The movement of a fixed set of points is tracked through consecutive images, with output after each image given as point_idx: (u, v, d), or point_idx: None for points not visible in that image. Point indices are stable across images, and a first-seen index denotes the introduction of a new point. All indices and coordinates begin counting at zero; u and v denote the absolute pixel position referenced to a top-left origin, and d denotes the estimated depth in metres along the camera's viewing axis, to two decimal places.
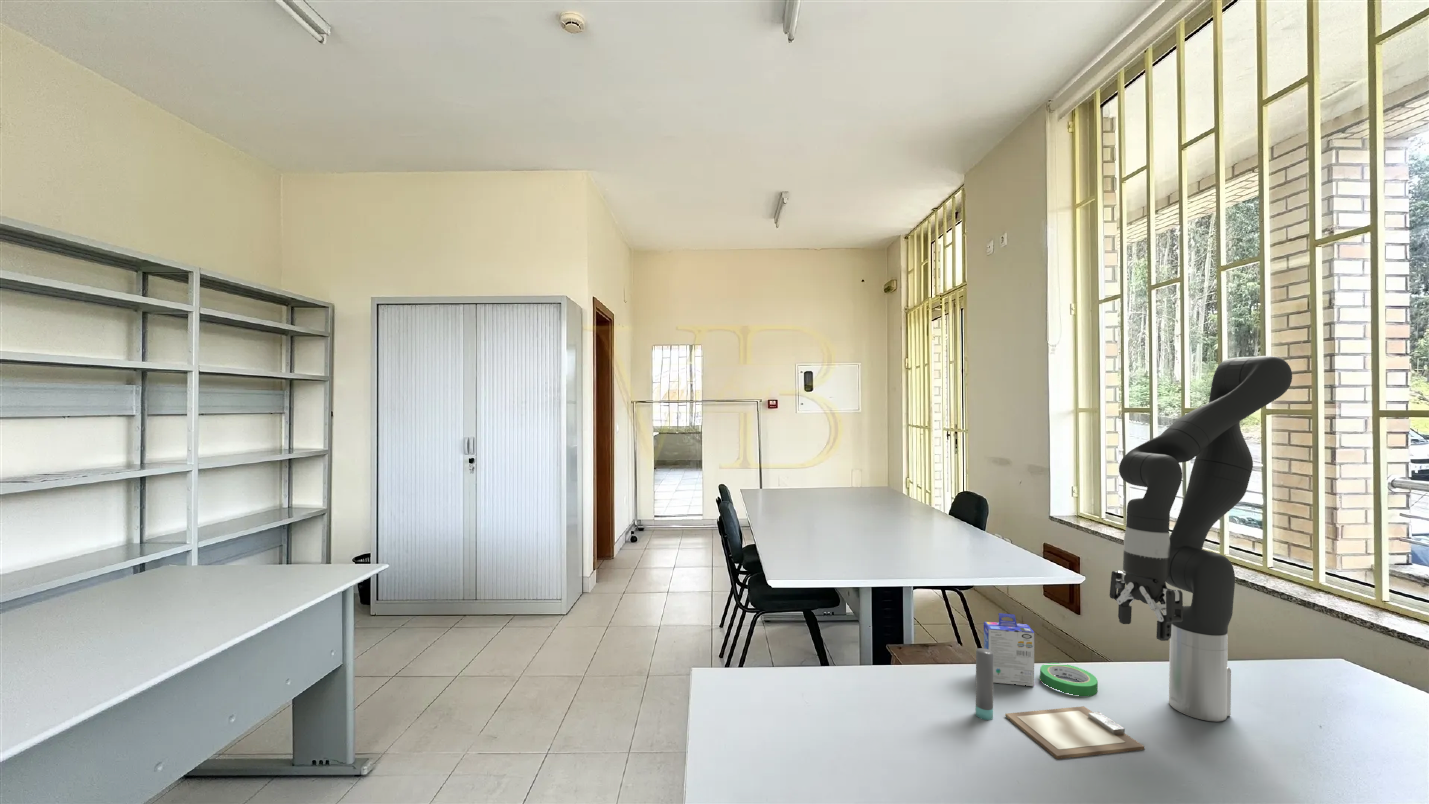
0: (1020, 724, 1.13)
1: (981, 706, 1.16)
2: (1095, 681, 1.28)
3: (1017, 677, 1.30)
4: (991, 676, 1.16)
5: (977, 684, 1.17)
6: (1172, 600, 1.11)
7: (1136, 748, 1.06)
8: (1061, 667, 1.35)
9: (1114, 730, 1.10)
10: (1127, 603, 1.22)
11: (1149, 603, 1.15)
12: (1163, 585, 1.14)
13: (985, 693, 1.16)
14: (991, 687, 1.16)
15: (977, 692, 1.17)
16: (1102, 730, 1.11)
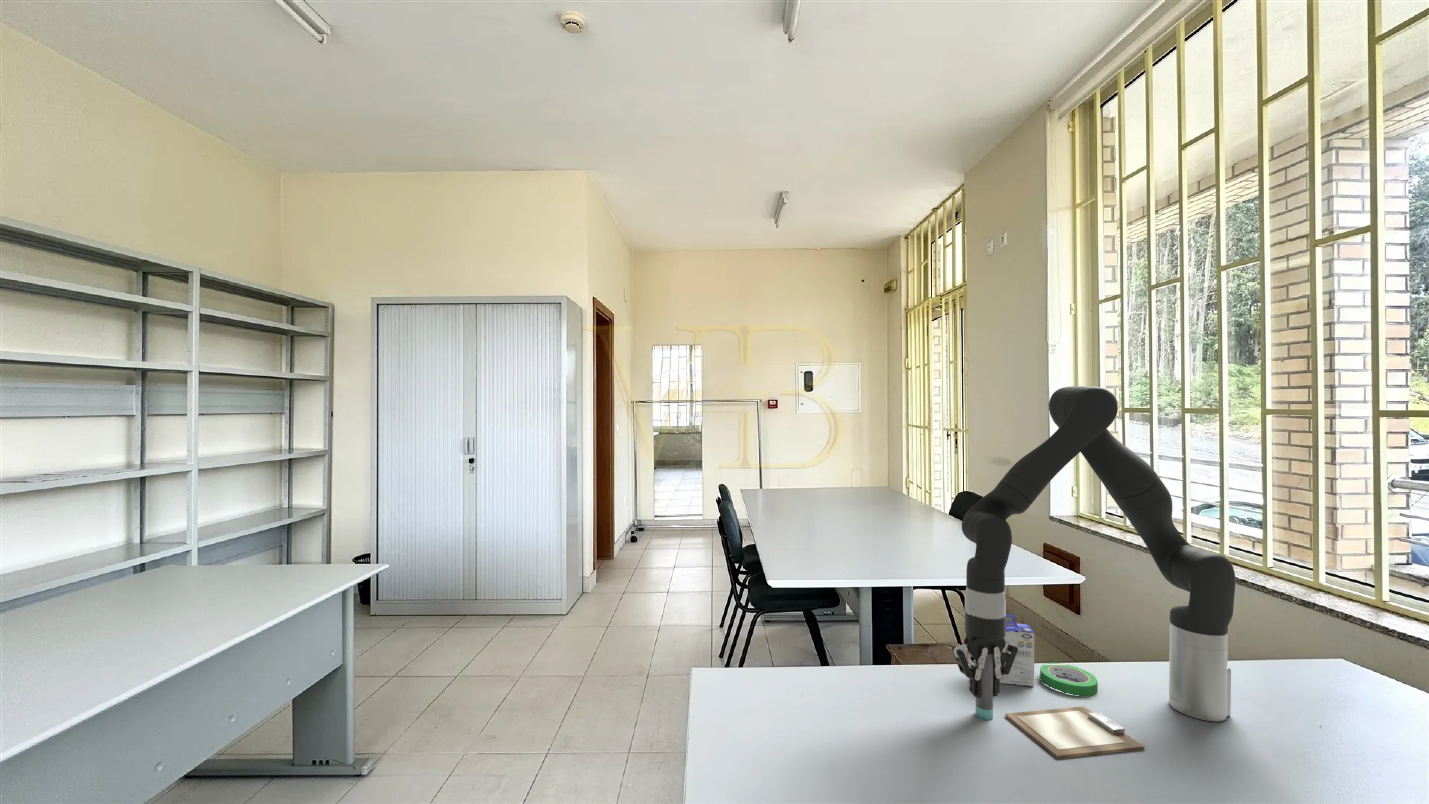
0: (1020, 724, 1.13)
1: (981, 706, 1.16)
2: (1095, 681, 1.28)
3: (1017, 677, 1.30)
4: (991, 676, 1.16)
5: None
6: None
7: (1136, 748, 1.06)
8: (1061, 667, 1.35)
9: (1114, 730, 1.10)
10: None
11: (996, 662, 1.16)
12: None
13: (985, 693, 1.16)
14: (991, 687, 1.16)
15: None
16: (1102, 730, 1.11)
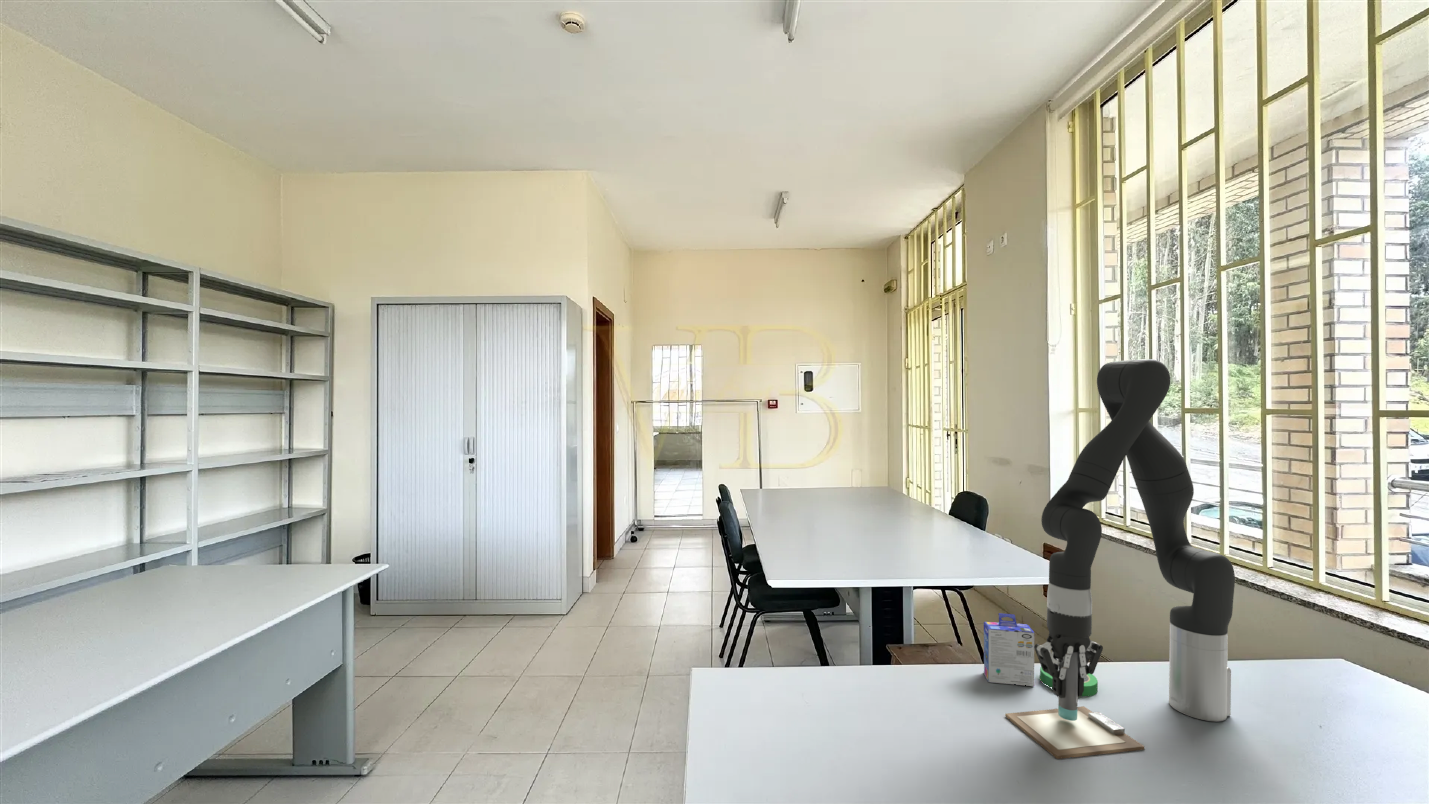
0: (1020, 724, 1.13)
1: (1065, 706, 1.13)
2: (1095, 681, 1.28)
3: (1017, 677, 1.30)
4: (1076, 675, 1.12)
5: None
6: None
7: (1136, 748, 1.06)
8: None
9: (1114, 730, 1.10)
10: None
11: (1081, 661, 1.12)
12: None
13: (1070, 692, 1.12)
14: (1076, 687, 1.12)
15: None
16: (1102, 730, 1.11)
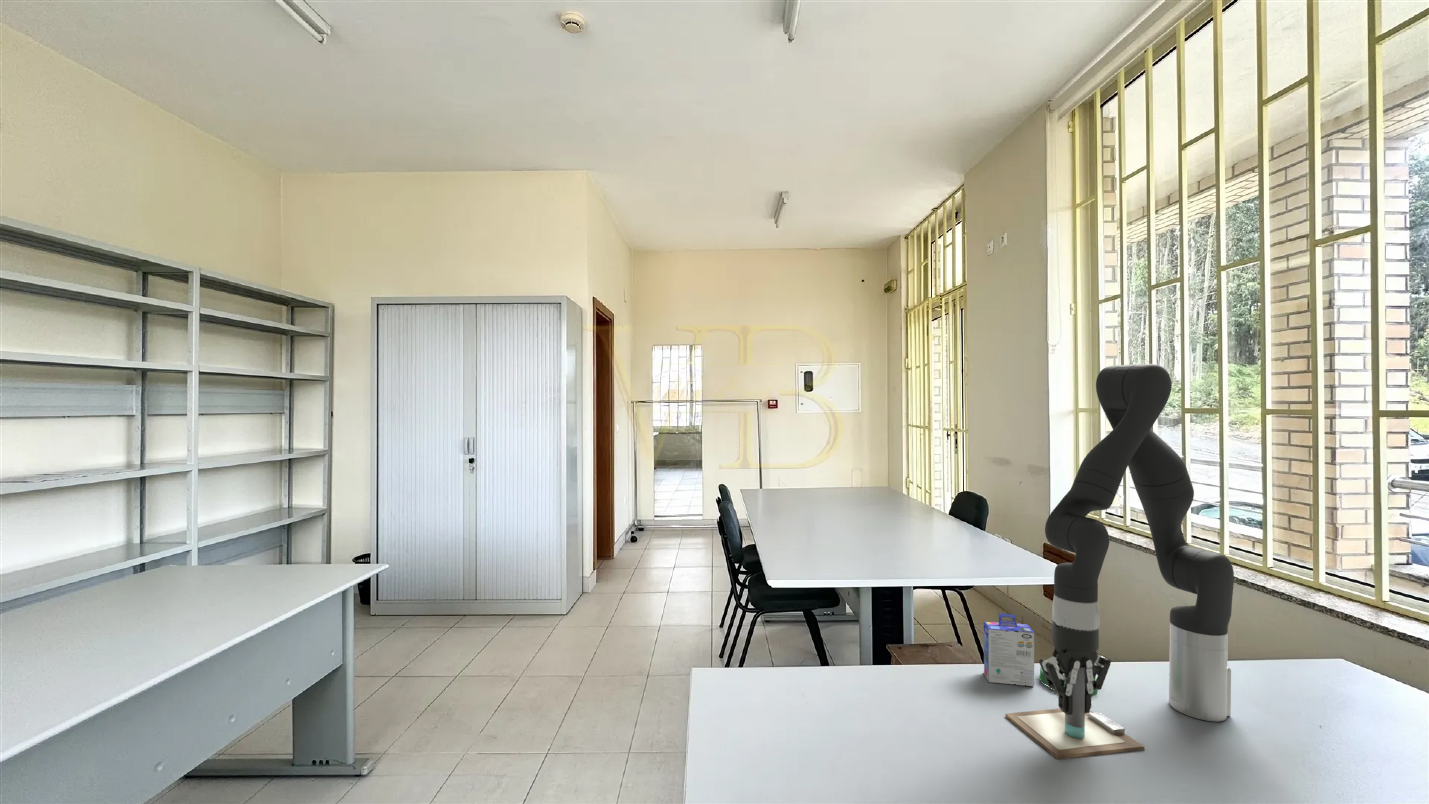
0: (1020, 724, 1.13)
1: (1072, 723, 1.09)
2: None
3: (1017, 677, 1.30)
4: (1083, 691, 1.08)
5: None
6: None
7: (1136, 748, 1.06)
8: None
9: (1114, 730, 1.10)
10: None
11: (1088, 677, 1.08)
12: None
13: (1077, 709, 1.08)
14: (1083, 703, 1.08)
15: None
16: (1102, 730, 1.11)
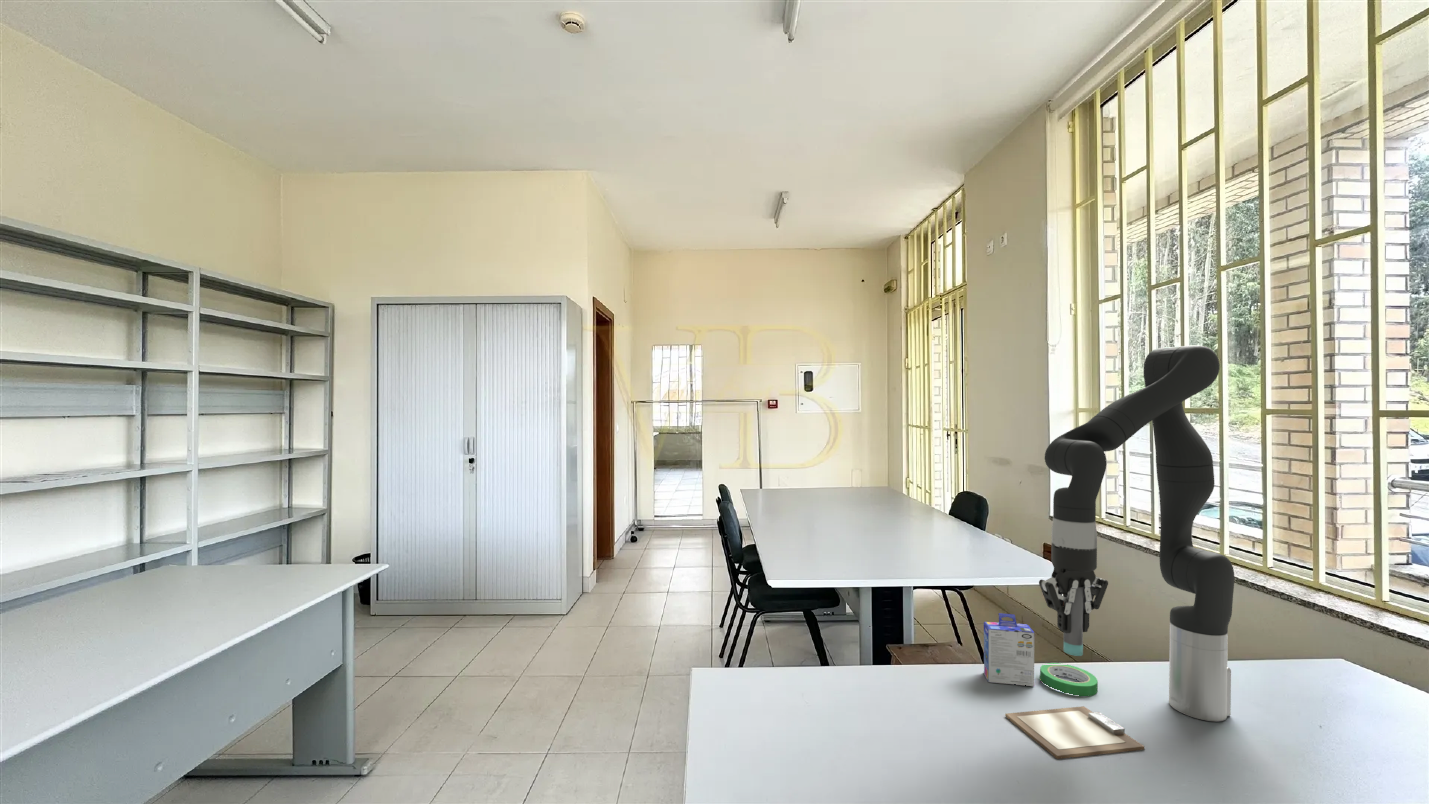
0: (1020, 724, 1.13)
1: (1071, 642, 1.12)
2: (1095, 681, 1.28)
3: (1017, 677, 1.30)
4: (1081, 610, 1.11)
5: None
6: None
7: (1136, 748, 1.06)
8: (1061, 667, 1.35)
9: (1114, 730, 1.10)
10: None
11: (1087, 596, 1.11)
12: None
13: (1075, 627, 1.11)
14: (1081, 622, 1.11)
15: None
16: (1102, 730, 1.11)
